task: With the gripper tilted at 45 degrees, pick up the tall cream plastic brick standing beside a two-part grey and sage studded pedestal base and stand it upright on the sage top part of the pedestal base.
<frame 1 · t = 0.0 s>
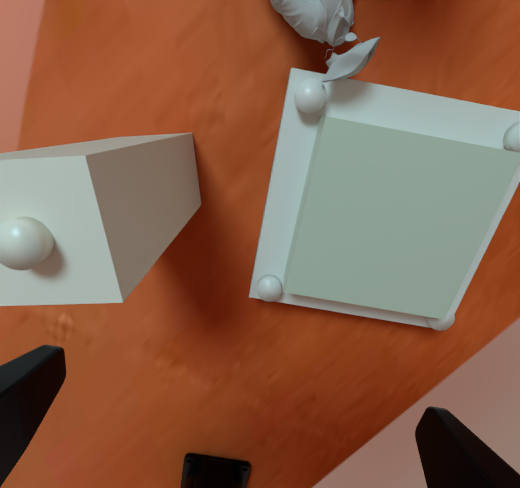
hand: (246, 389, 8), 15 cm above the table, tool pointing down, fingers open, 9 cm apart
studded pedestal base: (371, 209, 21), on the table
tall brick: (162, 172, 20), on the table
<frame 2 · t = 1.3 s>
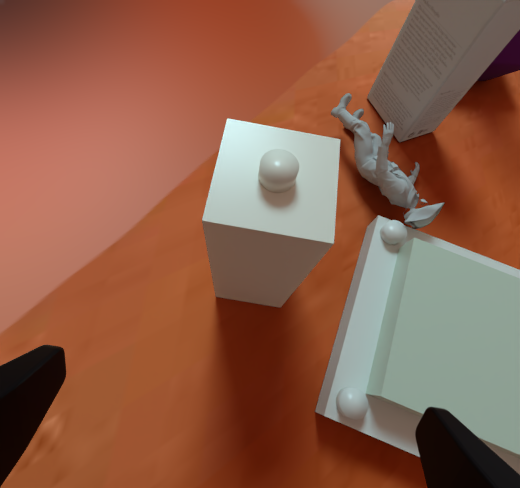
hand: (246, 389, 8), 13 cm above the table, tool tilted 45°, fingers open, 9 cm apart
perfume bottle: (460, 67, 34), on the table
soldier figure: (369, 175, 27), on the table, touching studded pedestal base
studded pedestal base: (438, 346, 22), on the table
tall brick: (253, 271, 23), on the table
skincare box: (397, 115, 30), on the table
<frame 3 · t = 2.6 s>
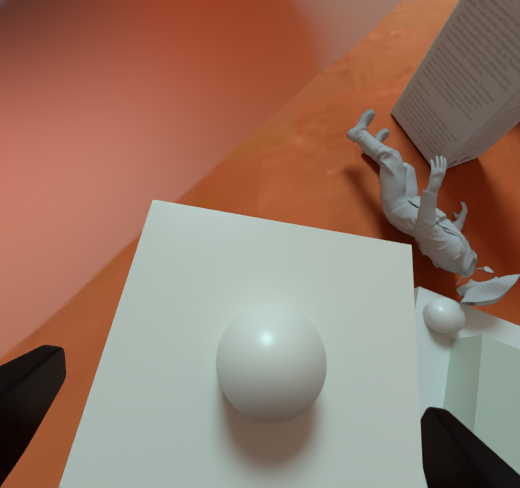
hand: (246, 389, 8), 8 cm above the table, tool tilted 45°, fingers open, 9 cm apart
soldier figure: (398, 219, 20), on the table, touching studded pedestal base
studded pedestal base: (512, 486, 15), on the table
tall brick: (238, 369, 16), on the table
skincare box: (431, 136, 23), on the table
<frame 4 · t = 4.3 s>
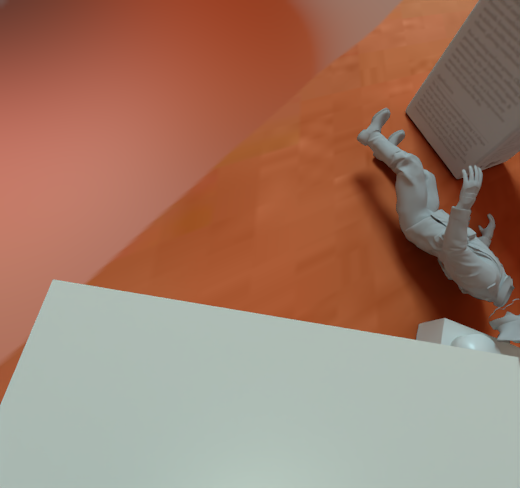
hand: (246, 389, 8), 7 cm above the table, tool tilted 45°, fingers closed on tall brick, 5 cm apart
soldier figure: (415, 233, 18), on the table, touching studded pedestal base
tall brick: (232, 416, 13), on the table, touching gripper
skincare box: (450, 138, 21), on the table
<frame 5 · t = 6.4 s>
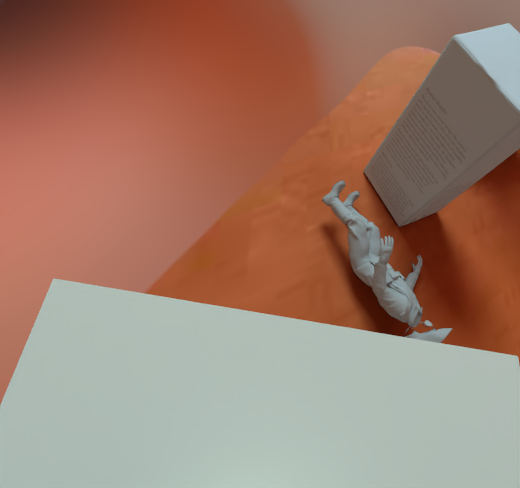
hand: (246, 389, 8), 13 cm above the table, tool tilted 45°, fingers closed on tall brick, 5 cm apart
soldier figure: (365, 269, 24), on the table, touching studded pedestal base
tall brick: (232, 416, 13), point 7 cm above the table, touching gripper
skincare box: (397, 192, 27), on the table
when the fingers open (12 cm above the table, at t = 8.8 s): tall brick drops 1 cm, resting on studded pedestal base.
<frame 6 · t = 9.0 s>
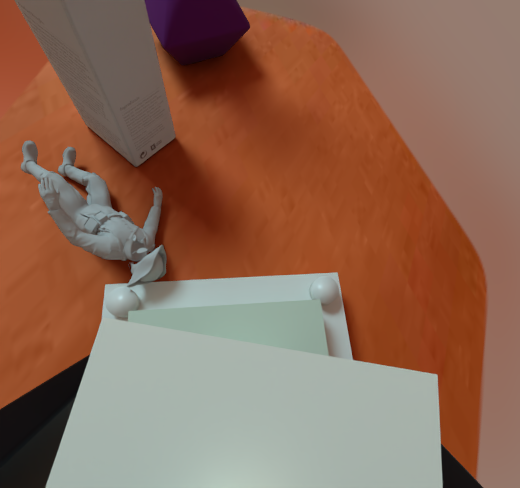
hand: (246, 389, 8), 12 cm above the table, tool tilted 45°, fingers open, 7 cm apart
perfume bottle: (195, 47, 29), on the table
soldier figure: (108, 223, 22), on the table, touching studded pedestal base
studded pedestal base: (231, 403, 18), on the table
tall brick: (231, 409, 15), point 4 cm above the table, touching studded pedestal base
skincare box: (132, 133, 25), on the table
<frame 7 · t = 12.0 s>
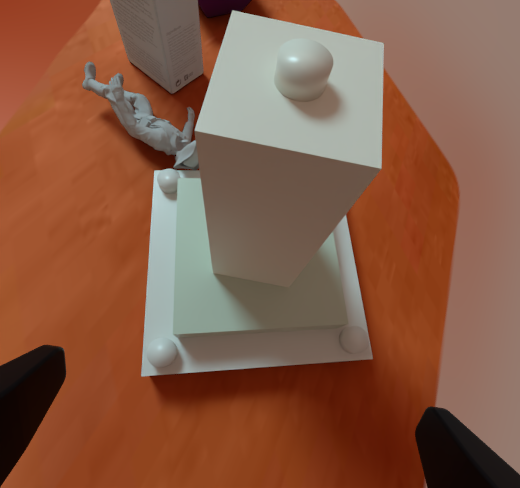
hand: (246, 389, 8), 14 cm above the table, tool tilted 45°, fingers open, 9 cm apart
perfume bottle: (217, 4, 34), on the table
soldier figure: (150, 136, 27), on the table, touching studded pedestal base
studded pedestal base: (252, 266, 23), on the table
tall brick: (257, 245, 19), point 4 cm above the table, touching studded pedestal base
skincare box: (166, 69, 30), on the table
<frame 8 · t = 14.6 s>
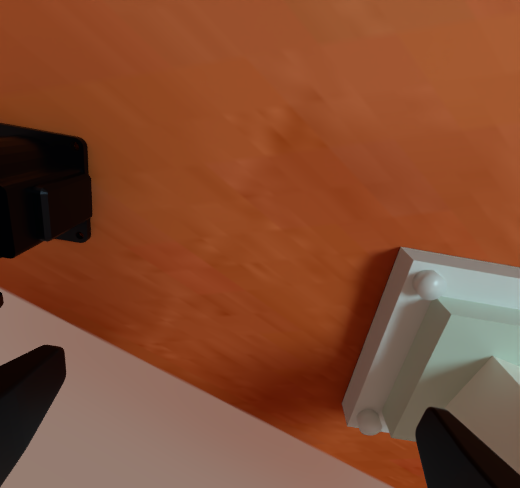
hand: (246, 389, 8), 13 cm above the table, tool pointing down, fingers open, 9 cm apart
studded pedestal base: (461, 349, 23), on the table
tall brick: (498, 395, 19), point 4 cm above the table, touching studded pedestal base
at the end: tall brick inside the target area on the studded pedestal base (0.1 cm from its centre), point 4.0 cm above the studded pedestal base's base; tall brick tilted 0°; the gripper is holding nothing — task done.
